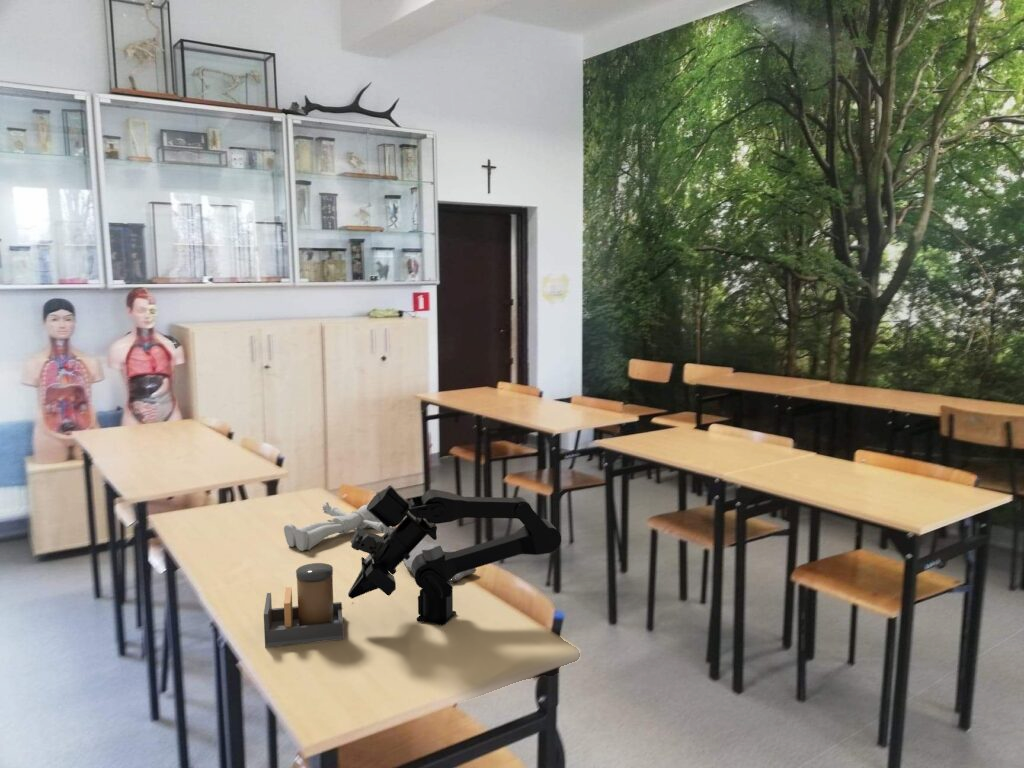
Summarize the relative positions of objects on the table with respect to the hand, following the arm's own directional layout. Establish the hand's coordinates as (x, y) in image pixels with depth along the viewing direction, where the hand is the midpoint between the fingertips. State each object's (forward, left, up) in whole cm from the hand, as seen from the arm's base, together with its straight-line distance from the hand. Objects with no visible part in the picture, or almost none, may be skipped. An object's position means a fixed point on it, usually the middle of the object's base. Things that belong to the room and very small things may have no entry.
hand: (349, 596), depth 161 cm
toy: (+34, -48, -7) cm, 59 cm away
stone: (-1, -36, -7) cm, 37 cm away
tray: (+7, +5, -7) cm, 11 cm away
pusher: (+10, +7, -5) cm, 13 cm away
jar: (+6, +4, -6) cm, 9 cm away
